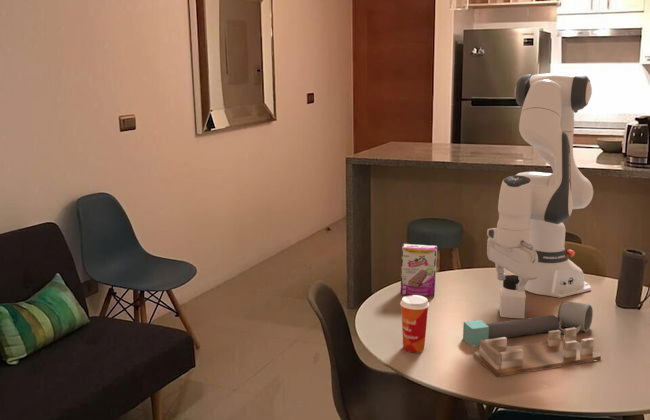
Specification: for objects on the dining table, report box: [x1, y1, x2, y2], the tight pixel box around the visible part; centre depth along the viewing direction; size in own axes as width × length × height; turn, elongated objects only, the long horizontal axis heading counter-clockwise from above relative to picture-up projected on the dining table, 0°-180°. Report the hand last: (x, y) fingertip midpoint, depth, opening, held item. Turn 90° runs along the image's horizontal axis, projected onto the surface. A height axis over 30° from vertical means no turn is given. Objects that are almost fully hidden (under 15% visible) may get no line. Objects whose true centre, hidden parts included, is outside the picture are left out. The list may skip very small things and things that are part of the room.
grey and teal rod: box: [462, 314, 559, 347], centre depth 188 cm, size 28×5×5 cm, turn 107°
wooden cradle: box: [473, 327, 602, 377], centre depth 174 cm, size 30×12×5 cm, turn 107°
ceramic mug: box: [556, 301, 594, 335], centre depth 192 cm, size 11×8×8 cm
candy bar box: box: [400, 243, 438, 298], centre depth 219 cm, size 11×5×16 cm, turn 78°
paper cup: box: [399, 295, 430, 354], centre depth 179 cm, size 8×8×14 cm
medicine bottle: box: [498, 273, 527, 320], centre depth 202 cm, size 7×7×12 cm
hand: (510, 285), depth 184 cm, fingers open, 8 cm apart
